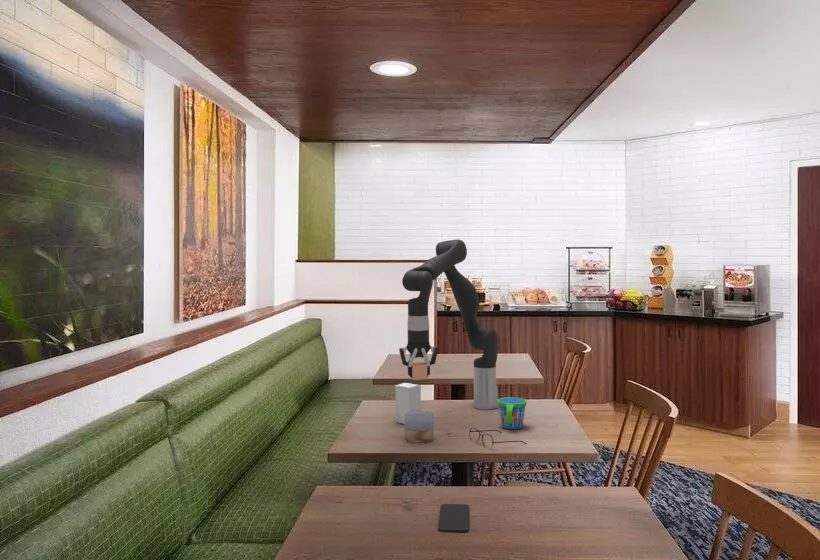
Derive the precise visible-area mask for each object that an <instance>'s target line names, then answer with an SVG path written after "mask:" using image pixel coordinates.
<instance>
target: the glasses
mask: <svg viewBox="0 0 820 560" xmlns="http://www.w3.org/2000/svg"><path fill="white" fill-rule="evenodd" d="M472 429H474V430H472ZM477 432H478V434H479V436H478V439H477V440H476V443H478V442H479V441H480V438H481V441H482V445H483V447H484V448H486V445H485V443H484V435H487V436H489V437H490V439H491V441H492V442H491V447H490V449H491V450H492V449H493V447H494V444H501V443H502V444H503V443H523V444H525V445H527V444H528V443H527V442H525V441H523V440H506V441H494V438H493V436H492V435H490V434H488V433H486V432H499V433H500V434H503V432H502V431H501V430H496V429H487V430H486V429H485V430H479V429H477V428H476V427H471V428H470V429H469V436H471V433H477ZM469 440H470V441H472V439H471V437H469Z"/></svg>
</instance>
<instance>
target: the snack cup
mask: <svg viewBox="0 0 820 560" xmlns="http://www.w3.org/2000/svg"><path fill="white" fill-rule="evenodd" d="M526 406H527V400H526V399H525V398H523V397H522V398H521V397H516V396H515V397H513V396H510V397H509V396H508V397H506V396H505V397H501V398H498V409H499V417H500V422H501V426H502V428H504V429H507V430H519V429H521V428H522V427H524V426H523V424H524V419H525V412H526V411H525V410H526Z"/></svg>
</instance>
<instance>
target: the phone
mask: <svg viewBox="0 0 820 560" xmlns="http://www.w3.org/2000/svg"><path fill="white" fill-rule="evenodd" d="M439 509H440V511H439V516H438V522H437V523H438V524H437V531H438V532H441V533H460V534H461V533H462V534H463V533H469V531H470V505H468V504H464V503H461V504H459V503H442V504H441V505H440V508H439Z"/></svg>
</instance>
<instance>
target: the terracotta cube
mask: <svg viewBox="0 0 820 560" xmlns="http://www.w3.org/2000/svg"><path fill="white" fill-rule="evenodd" d="M411 379H412V380H413V381H415V380H416V381H418V380H428V377H427V364H426V363H425V361H424V362H423V361H422V362H413V364H412V378H411Z"/></svg>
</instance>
